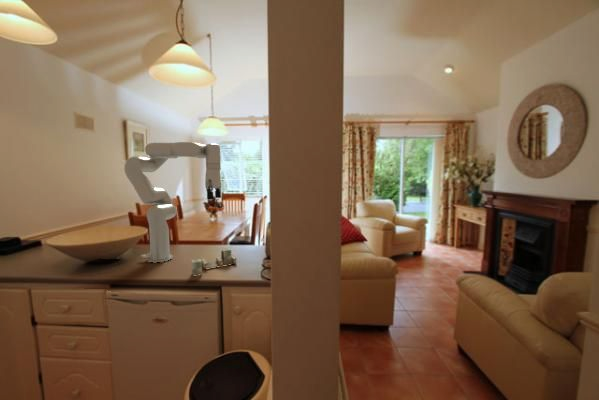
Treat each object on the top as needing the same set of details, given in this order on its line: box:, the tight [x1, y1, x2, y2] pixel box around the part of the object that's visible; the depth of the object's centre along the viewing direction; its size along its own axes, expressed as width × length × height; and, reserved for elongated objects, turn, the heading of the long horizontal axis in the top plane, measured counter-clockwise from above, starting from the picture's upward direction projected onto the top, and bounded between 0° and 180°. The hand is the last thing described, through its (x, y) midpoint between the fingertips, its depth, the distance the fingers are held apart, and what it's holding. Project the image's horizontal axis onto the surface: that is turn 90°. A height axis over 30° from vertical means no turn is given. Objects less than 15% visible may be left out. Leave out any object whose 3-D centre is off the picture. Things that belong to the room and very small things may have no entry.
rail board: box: [201, 247, 238, 269], centre depth 132 cm, size 16×8×8 cm, turn 122°
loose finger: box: [190, 258, 204, 275], centre depth 119 cm, size 4×4×7 cm
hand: (214, 198), depth 135 cm, fingers open, 9 cm apart
